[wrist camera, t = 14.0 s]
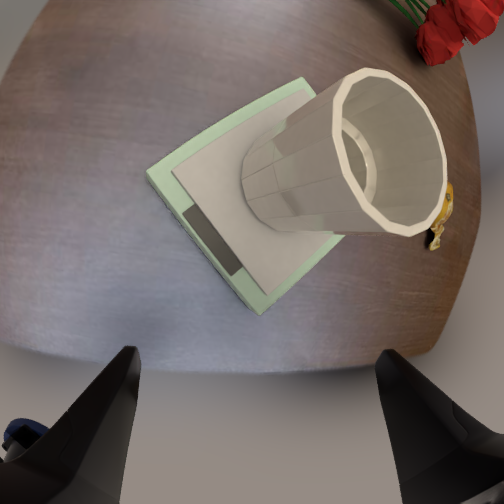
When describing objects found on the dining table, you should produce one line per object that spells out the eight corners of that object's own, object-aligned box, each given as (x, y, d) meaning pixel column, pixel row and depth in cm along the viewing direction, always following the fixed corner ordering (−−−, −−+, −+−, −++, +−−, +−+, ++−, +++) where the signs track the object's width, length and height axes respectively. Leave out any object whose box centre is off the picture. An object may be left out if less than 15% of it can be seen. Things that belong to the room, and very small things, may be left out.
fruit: (432, 257, 29) (457, 260, 25) (396, 212, 26) (424, 210, 23) (451, 203, 30) (474, 202, 27) (419, 155, 27) (444, 150, 24)
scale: (248, 308, 22) (262, 319, 19) (145, 177, 18) (145, 168, 16) (364, 200, 25) (386, 198, 22) (290, 86, 22) (306, 72, 19)
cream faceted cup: (279, 253, 19) (395, 273, 10) (217, 167, 17) (294, 101, 8) (345, 195, 21) (460, 180, 11) (294, 117, 19) (395, 54, 9)
